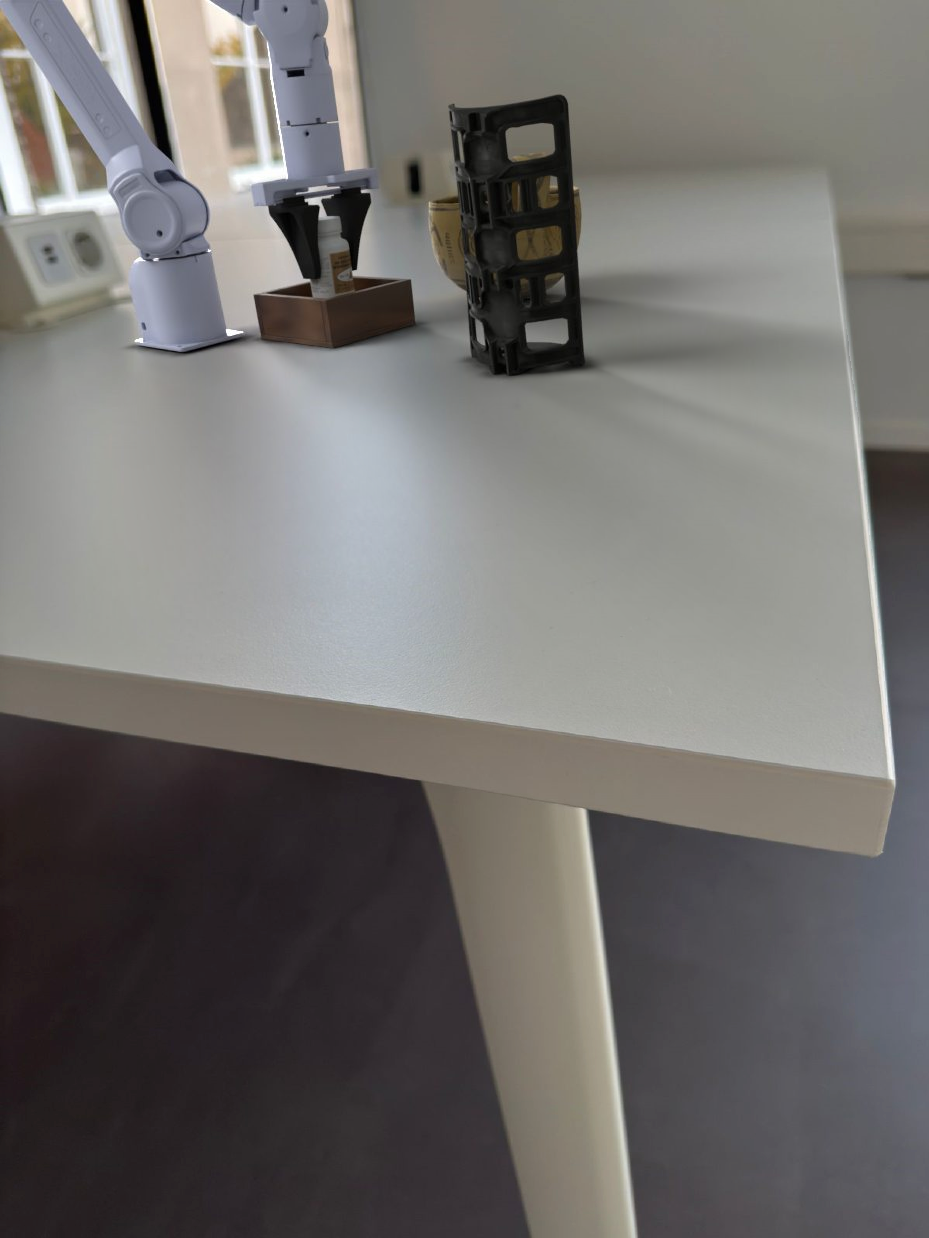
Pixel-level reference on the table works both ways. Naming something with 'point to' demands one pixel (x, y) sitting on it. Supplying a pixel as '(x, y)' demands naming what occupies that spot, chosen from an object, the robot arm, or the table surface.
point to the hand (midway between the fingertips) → (330, 274)
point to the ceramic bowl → (529, 242)
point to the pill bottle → (332, 261)
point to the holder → (500, 226)
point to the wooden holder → (335, 312)
